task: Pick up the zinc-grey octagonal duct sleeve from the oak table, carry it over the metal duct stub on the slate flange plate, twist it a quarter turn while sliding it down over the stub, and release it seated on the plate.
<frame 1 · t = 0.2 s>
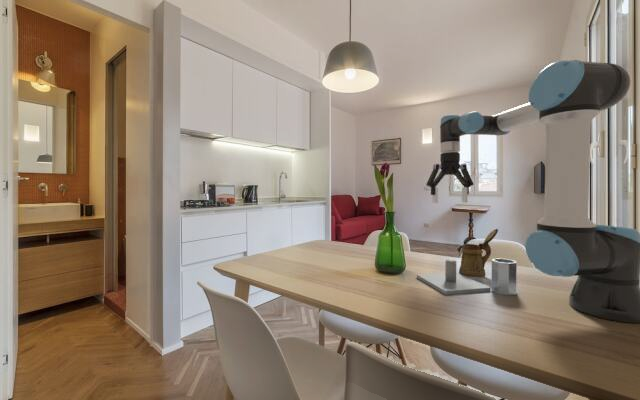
hand: (449, 202, 121), 28 cm above the table, fingers open, 13 cm apart
wooden mug: (478, 274, 111), on the table
sleeve: (503, 291, 92), on the table
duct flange: (450, 284, 99), on the table
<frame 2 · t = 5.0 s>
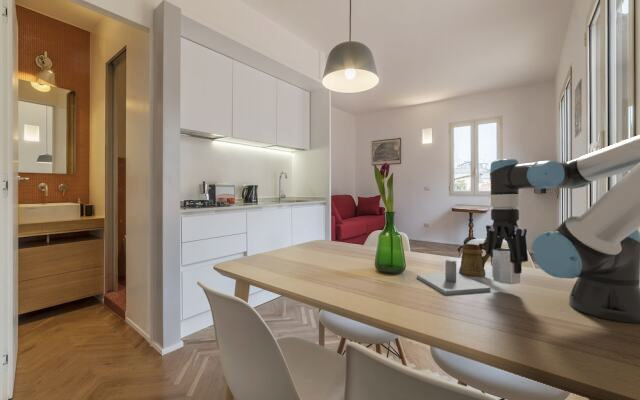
hand: (505, 279, 91), 4 cm above the table, fingers closed on sleeve, 7 cm apart
sleeve: (505, 280, 91), point 4 cm above the table, touching gripper
everything else where it was.
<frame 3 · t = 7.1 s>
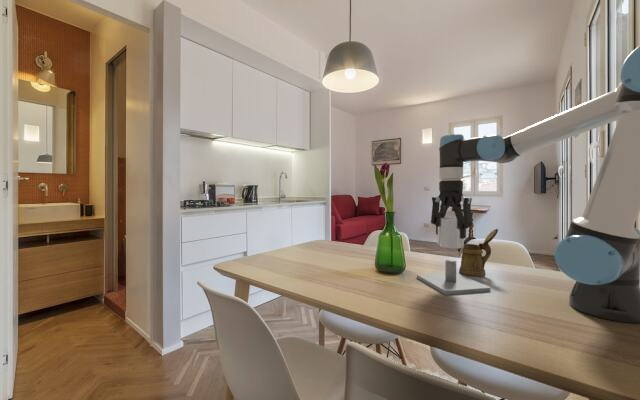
hand: (450, 245, 99), 13 cm above the table, fingers closed on sleeve, 7 cm apart
sleeve: (450, 246, 99), point 13 cm above the table, touching gripper
everything else where it was.
when the fingers open (3 cm above the table, at t = 9.6 s): sleeve drops 2 cm, resting on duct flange.
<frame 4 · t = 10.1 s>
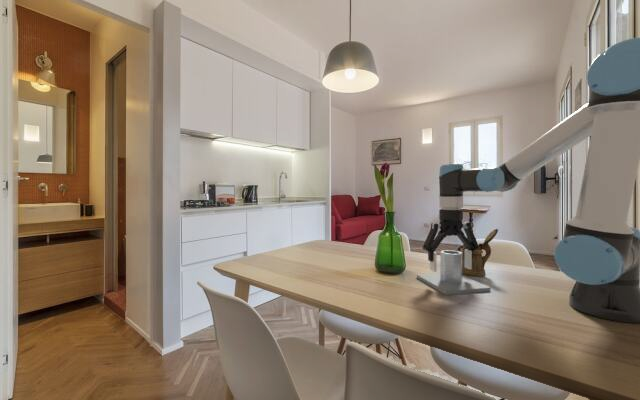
hand: (450, 269, 99), 5 cm above the table, fingers open, 13 cm apart
sleeve: (451, 280, 99), point 1 cm above the table, touching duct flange
everything else where it was.
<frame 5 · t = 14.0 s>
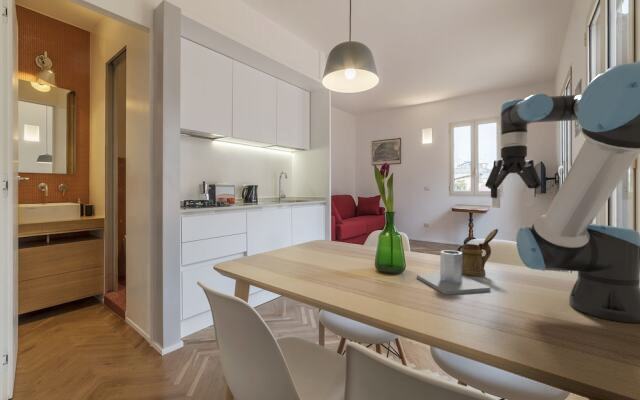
hand: (513, 207, 99), 27 cm above the table, fingers open, 13 cm apart
nothing on the table moved.
at the end: sleeve 0.2 cm from the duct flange (horizontally); sleeve point 1.2 cm above the table; sleeve tilted 0° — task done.
